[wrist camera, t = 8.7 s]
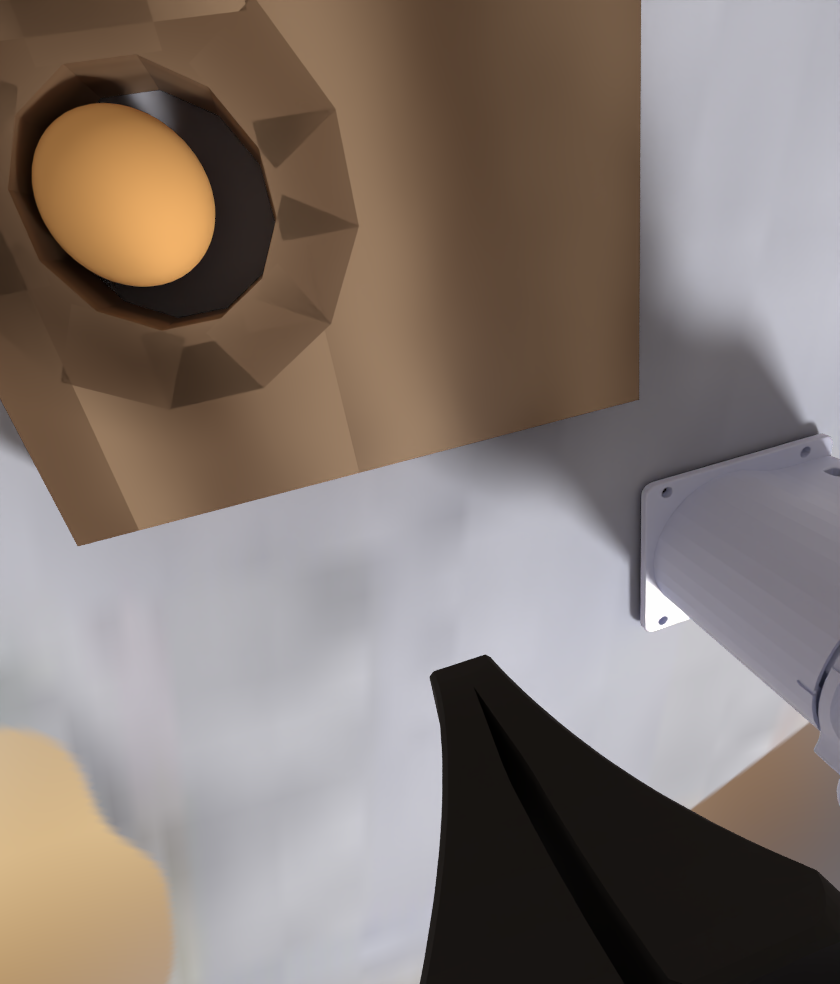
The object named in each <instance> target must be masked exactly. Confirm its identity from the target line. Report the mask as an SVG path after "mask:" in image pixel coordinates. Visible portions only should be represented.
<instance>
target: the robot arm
mask: <svg viewBox="0 0 840 984" xmlns="http://www.w3.org/2000/svg"><path fill="white" fill-rule="evenodd" d="M832 446H833V439H832V437H830V436H828V435H825V434H817V435H814V436H810V437H807V438H803V439H800V440H796V441H793V442H789V443H786V444H782V445H779V446H776V447H772V448H769V449H765V450H762V451H758V452H755V453H751V454H748V455H744V456H741V457H737V458H734V459H730V460H727V461H724V462H720V463H717V464H713V465H710V466H706V467H703V468H699V469H696V470H692V471H689V472H685V473H682V474H679V475H675V476H672V477H668V478H665V479H661V480H658V481H654V482H651V483H649V484H647V485H646V486H645V487H644V489H643V491H642V495H641V607H640V623H641V626H642V627H643V628H644V629H645V630H646V631H649V632H650V631H655V630H658V629H661V628H664V627H667V626H670V625H673V624H676V623H679V622H682V621H685V620H688V619H692V620H693V621H694V622H695V623H696V624H697V625H699V626H700V627H701V628H702V629H703V630H704V631H705V632H707V633H708V634H709V635H710V636H711V637H712V638H714V639H715V640H716V641H717V642H718V643H719V644H720V645H722V646H723V647H724V648H725V649H726V650H727V651H728V652H730V653H731V654H732V655H733V656H734V657H735V658H737V659H738V660H739V661H740V662H741V663H742V664H743V665H745V666H746V667H747V668H748V669H749V670H750V671H752V672H753V673H754V674H755V675H756V676H757V677H758V678H760V679H761V680H762V681H763V682H764V683H765V684H766V685H768V686H769V687H770V688H771V689H772V690H773V691H775V692H776V693H777V694H778V695H779V696H780V697H781V698H783V699H784V700H785V701H786V702H787V703H788V704H790V705H791V706H792V707H793V708H794V709H795V710H796V711H798V712H799V713H800V714H801V715H802V716H803V717H804V718H806V719H807V720H808V721H809V722H810V723H811V724H813V725H814V726H815V727H816V728H817V729H818V730H820V737H819V739H818V742H817V744H816V746H815V748H814V752H815V753H816V754H817V755H818V756H819V757H821V758H822V759H823V760H824V761H825V762H826V763H827V764H828V765H829V766H830V767H831V768H833V769H834V770H835V771H836V772H837V773H838V774H839V775H840V459H838V458H835V457H833V456H831V452H832ZM665 488H666V491H665V492H664V493H663V494H662V491H663V490H664V489H665ZM430 681H431V686H432V690H433V695H434V699H435V704H436V709H437V713H438V718H439V722H440V728H441V743H442V818H441V834H440V848H439V858H438V867H437V877H436V886H435V894H434V902H433V909H432V915H431V921H430V928H429V934H428V940H427V946H426V953H425V959H424V964H423V970H422V975H421V980H420V984H840V892H839V891H838V890H837V889H836V888H835V887H834V886H833V885H832V884H831V883H830V882H829V881H828V880H826V879H825V878H824V877H823V876H822V875H821V874H820V873H819V872H818V871H817V870H815V869H812V868H810V867H807V866H805V865H803V864H801V863H798V862H796V861H794V860H791V859H789V858H787V857H784V856H782V855H780V854H778V853H775V852H773V851H771V850H769V849H766V848H764V847H762V846H760V845H758V844H756V843H753V842H751V841H749V840H747V839H745V838H743V837H741V836H739V835H737V834H735V833H733V832H731V831H729V830H727V829H725V828H723V827H721V826H719V825H717V824H715V823H713V822H711V821H709V820H707V819H706V818H704V817H702V816H700V815H698V814H696V813H695V812H693V811H691V810H689V809H687V808H686V807H684V806H682V805H680V804H678V803H677V802H675V801H673V800H671V799H669V798H668V797H666V796H664V795H662V794H661V793H659V792H657V791H656V790H654V789H652V788H651V787H649V786H648V785H646V784H644V783H643V782H641V781H640V780H638V779H636V778H635V777H633V776H632V775H630V774H629V773H627V772H626V771H624V770H623V769H621V768H620V767H618V766H617V765H615V764H614V763H612V762H611V761H609V760H608V759H606V758H605V757H604V756H602V755H601V754H599V753H598V752H597V751H595V750H594V749H593V748H591V747H590V746H589V745H587V744H586V743H585V742H583V741H582V740H581V739H579V738H578V737H577V736H576V735H574V734H573V733H572V732H570V731H569V730H568V729H567V728H565V727H564V726H563V725H562V724H560V723H559V722H558V721H557V720H556V719H555V718H553V717H552V716H551V715H550V714H549V713H548V712H546V711H545V710H544V709H543V708H542V707H541V706H539V705H538V704H537V703H536V702H535V701H534V700H533V699H532V698H530V697H529V696H528V695H527V694H526V693H525V692H524V691H523V690H522V689H521V688H520V687H519V686H518V685H517V684H516V683H515V682H514V681H513V680H512V679H510V678H509V677H508V676H507V674H506V673H505V672H504V671H503V670H502V669H501V668H500V667H499V666H498V665H497V664H496V663H495V662H494V661H493V660H492V658H491V657H489V656H487V655H483V656H479V657H476V658H473V659H470V660H467V661H464V662H461V663H458V664H455V665H452V666H449V667H446V668H443V669H440V670H437V671H434V672H433V673H432V674H431V676H430ZM837 798H838V803H839V805H840V779H839V782H838V787H837Z"/></svg>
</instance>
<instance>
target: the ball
mask: <svg viewBox="0 0 840 984" xmlns="http://www.w3.org/2000/svg"><path fill="white" fill-rule="evenodd" d="M32 187H33V192H34V197H35V201H36V204H37V207H38V210H39V213H40V215H41V217H42V219H43V221H44V223H45V225H46V226H47V228H48V230H49V231H50V233H51V235H52V236H53V237H54V239H55V240H56V241H57V242H58V243H59V245H60V246H61V247H62V248H63V249H64V250H65V251H66V252H67V253H68V254H69V255H70V256H71V257H72V258H73V259H74V260H75V261H77V262H78V263H79V264H81V265H82V266H84V267H85V268H86V269H88V270H90V271H91V272H93V273H95V274H97V275H99V276H101V277H103V278H105V279H108V280H110V281H113V282H117V283H120V284H124V285H130V286H139V287H148V286H156V285H163V284H166V283H170V282H172V281H174V280H176V279H179V278H181V277H183V276H184V275H185V274H187V273H188V272H190V271H191V270H192V269H193V268H194V267H195V266H196V265H197V264H198V263H199V262H200V260H201V259H202V258H203V256H204V255H205V253H206V251H207V249H208V247H209V245H210V243H211V240H212V236H213V232H214V227H215V203H214V197H213V193H212V189H211V185H210V183H209V180H208V177H207V175H206V173H205V171H204V169H203V167H202V165H201V163H200V162H199V160H198V158H197V157H196V155H195V154H194V152H193V151H192V150H191V149H190V147H189V146H188V145H187V144H186V143H185V141H184V140H183V139H182V138H181V137H179V136H178V135H177V134H176V133H175V132H174V131H173V130H172V129H171V128H169V127H168V126H167V125H165V124H164V123H162V122H161V121H160V120H158V119H156V118H155V117H153V116H151V115H149V114H147V113H145V112H142V111H140V110H137V109H135V108H132V107H128V106H124V105H120V104H111V103H94V104H88V105H84V106H80V107H76V108H74V109H72V110H69V111H67V112H65V113H64V114H62V115H61V116H60V117H58V118H57V119H56V120H54V121H53V122H52V123H51V124H50V125H49V127H48V128H47V129H46V130H45V132H44V133H43V135H42V136H41V138H40V140H39V142H38V144H37V147H36V150H35V153H34V157H33V163H32Z"/></svg>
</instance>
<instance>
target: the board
mask: <svg viewBox="0 0 840 984" xmlns="http://www.w3.org/2000/svg"><path fill="white" fill-rule="evenodd" d="M155 90H161V91H164V92H166V93H168V94H170V95H173V96H175V97H177V98H179V99H182V100H184V101H186V102H189V103H191V104H193V105H195V106H198V107H200V108H202V109H204V110H207V111H209V112H211V113H214V114H216V115H218V116H219V117H220V118H221V119H222V120H223V122H224V123H225V124H226V125H227V126H228V128H229V129H230V130H231V131H232V132H233V134H234V135H235V136H236V137H237V138H238V140H239V141H240V142H241V143H242V144H243V146H244V147H245V148H246V149H247V150H248V152H249V153H250V154H251V155H252V156H253V158H254V159H255V160H256V161H257V162H258V163H259V165H260V167H261V171H262V175H263V179H264V183H265V186H266V190H267V194H268V198H269V202H270V206H271V210H272V213H273V217H274V221H275V225H274V229H273V233H272V237H271V241H270V245H269V250H268V254H267V258H266V262H265V266H264V270H263V274H262V275H261V276H260V277H259V278H258V279H257V280H256V281H255V282H254V283H253V284H252V285H251V286H250V287H249V288H248V289H247V290H246V291H245V292H243V293H242V294H241V295H240V296H239V297H238V298H237V299H236V300H235V301H234V302H233V303H232V304H231V305H230V306H229V307H228V308H224V309H219V310H214V311H209V312H205V313H200V314H195V315H190V316H185V317H180V318H177V317H174V316H171V315H167V314H164V313H161V312H158V311H154V310H151V309H148V308H145V307H141V306H138V305H135V304H132V303H128V302H125V301H124V300H122V299H121V298H120V297H119V296H118V295H117V294H116V293H115V292H114V291H113V290H111V289H110V288H109V287H108V286H107V285H106V284H105V283H104V282H103V281H102V280H101V279H99V278H98V277H97V276H96V275H95V274H94V273H93V272H91V271H90V270H88V269H86V268H85V267H84V266H82V265H81V264H79V263H78V262H77V261H75V260H74V259H73V258H72V257H71V256H70V255H69V254H68V253H67V252H66V251H65V250H64V249H63V248H62V247H61V246H60V245H59V243H58V242H57V241H56V240H55V239H54V237H53V236H52V235H51V233H50V231H49V230H48V228H47V226H46V225H45V223H44V221H43V219H42V217H41V215H40V213H39V210H38V207H37V204H36V201H35V197H34V192H33V187H32V163H33V157H34V153H35V150H36V147H37V144H38V142H39V140H40V138H41V136H42V135H43V133H44V132H45V130H46V129H47V128H48V127H49V125H50V124H51V123H52V122H53V121H54V120H56V119H57V118H58V117H60V116H61V115H62V114H64V113H65V112H67V111H69V110H72V109H74V108H76V107H80V106H84V105H88V104H94V103H97V102H98V100H99V99H100V98H106V97H113V96H120V95H127V94H134V93H141V92H148V91H155ZM640 91H641V0H0V399H1V401H2V403H3V405H4V407H5V409H6V411H7V413H8V415H9V416H10V418H11V420H12V422H13V424H14V426H15V428H16V430H17V432H18V434H19V435H20V437H21V439H22V441H23V443H24V445H25V447H26V449H27V451H28V453H29V454H30V456H31V458H32V460H33V462H34V464H35V466H36V468H37V470H38V472H39V473H40V475H41V477H42V479H43V481H44V483H45V485H46V487H47V489H48V491H49V492H50V494H51V496H52V498H53V500H54V502H55V504H56V506H57V508H58V510H59V511H60V513H61V515H62V517H63V519H64V521H65V523H66V525H67V527H68V529H69V530H70V532H71V534H72V536H73V538H74V540H75V542H76V544H77V546H81V545H85V544H89V543H93V542H96V541H100V540H104V539H108V538H112V537H115V536H119V535H123V534H127V533H131V532H135V531H138V530H142V529H146V528H150V527H154V526H158V525H161V524H165V523H169V522H173V521H177V520H180V519H184V518H188V517H192V516H196V515H200V514H203V513H207V512H211V511H215V510H219V509H223V508H226V507H230V506H234V505H238V504H242V503H245V502H249V501H253V500H257V499H261V498H265V497H268V496H272V495H276V494H280V493H284V492H288V491H291V490H295V489H299V488H303V487H307V486H310V485H314V484H318V483H322V482H326V481H330V480H333V479H337V478H341V477H345V476H349V475H353V474H356V473H360V472H364V471H368V470H372V469H375V468H379V467H383V466H387V465H391V464H395V463H398V462H402V461H406V460H410V459H414V458H418V457H421V456H425V455H429V454H433V453H437V452H440V451H444V450H448V449H452V448H456V447H460V446H463V445H467V444H471V443H475V442H479V441H483V440H486V439H490V438H494V437H498V436H502V435H505V434H509V433H513V432H517V431H521V430H525V429H528V428H532V427H536V426H540V425H544V424H547V423H551V422H555V421H559V420H563V419H567V418H570V417H574V416H578V415H582V414H586V413H590V412H593V411H597V410H601V409H605V408H609V407H612V406H616V405H620V404H624V403H628V402H632V401H635V400H639V292H640Z"/></svg>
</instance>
